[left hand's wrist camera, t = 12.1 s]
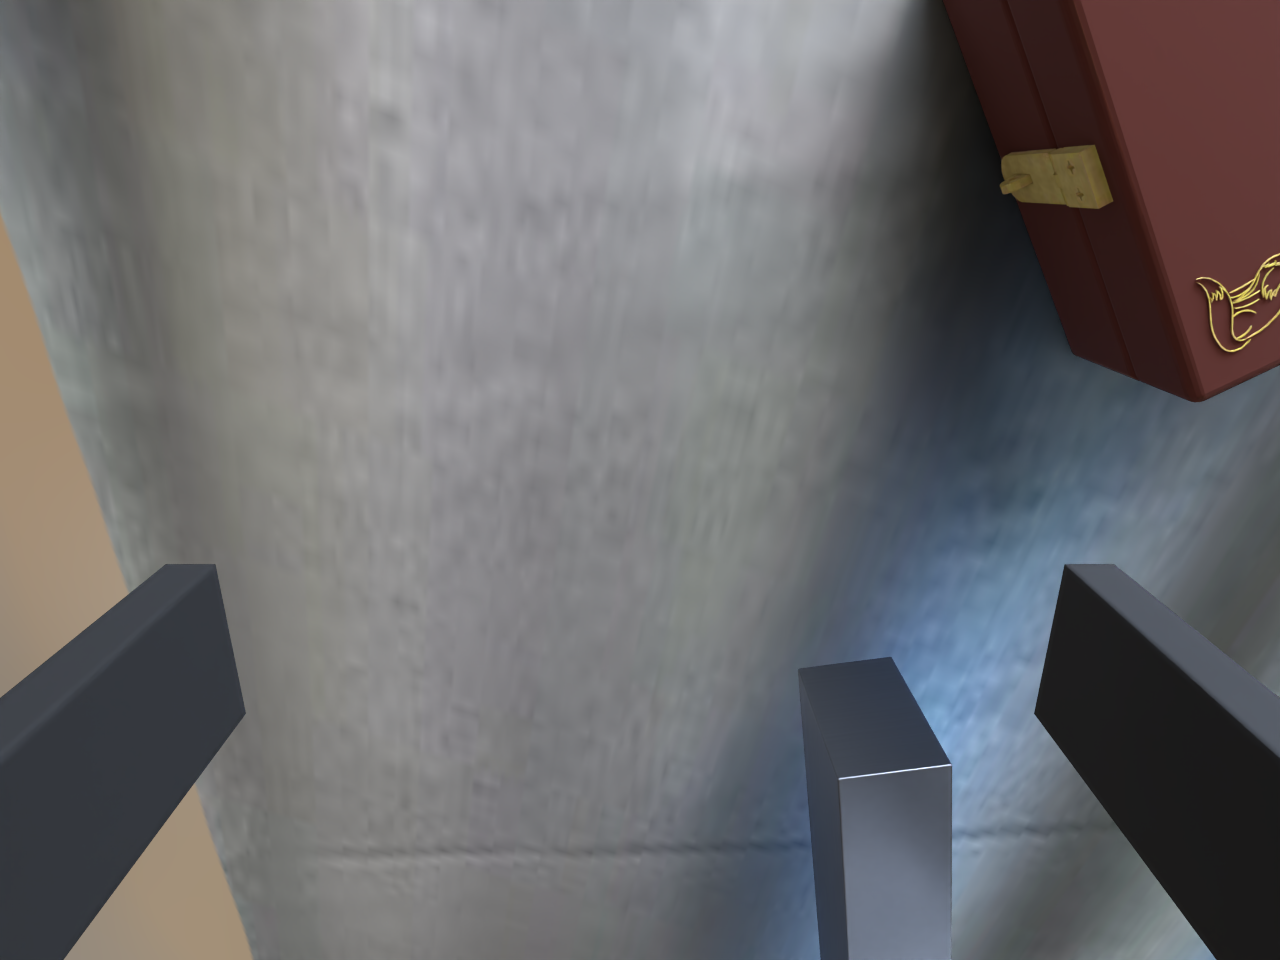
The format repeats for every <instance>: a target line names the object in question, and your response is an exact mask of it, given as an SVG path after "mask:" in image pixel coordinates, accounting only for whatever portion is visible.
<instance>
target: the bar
mask: <svg viewBox="0 0 1280 960" xmlns="http://www.w3.org/2000/svg"><path fill="white" fill-rule="evenodd" d="M798 675H799V688H800V701H801V714H802V727H803V739H804V752H805V765H806V778H807V791H808V803H809V816H810V829H811V842H812V855H813V868H814V880H815V893H816V906H817V919H818V932H819V944H820V957H821V960H951V905H952V764H951V762H950V761H949V759H948V757H947V755H946V754H945V752H944V750H943V748H942V746H941V745H940V743H939V741H938V739H937V738H936V736H935V734H934V732H933V730H932V729H931V727H930V725H929V723H928V721H927V720H926V718H925V716H924V714H923V713H922V711H921V709H920V707H919V705H918V704H917V702H916V700H915V698H914V697H913V695H912V693H911V691H910V689H909V688H908V686H907V684H906V682H905V681H904V679H903V677H902V675H901V673H900V672H899V670H898V668H897V666H896V664H895V663H894V661H893V659H892V657H885V658H877V659H870V660H862V661H854V662H846V663H839V664H831V665H823V666H816V667H808V668H800V669H798Z"/></svg>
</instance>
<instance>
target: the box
mask: <svg viewBox="0 0 1280 960" xmlns="http://www.w3.org/2000/svg"><path fill="white" fill-rule="evenodd" d="M943 3H944V5H945V8H946V11H947V13H948V16H949V19H950V22H951V24H952V27H953V30H954V32H955V35H956V38H957V41H958V43H959V46H960V49H961V51H962V54H963V57H964V60H965V62H966V65H967V68H968V70H969V73H970V76H971V79H972V81H973V84H974V87H975V90H976V92H977V95H978V98H979V100H980V103H981V106H982V109H983V111H984V114H985V117H986V119H987V122H988V125H989V128H990V130H991V133H992V136H993V138H994V141H995V144H996V147H997V149H998V152H999V155H1000V157H1001V160H1002V161H1001V169H1002V174H1003V178H1004V180H1005V181H1003V182H1002V183H1001V184H1000V188H1001V190H1002V193H1003V194H1008V193H1012V195H1013V196H1014V197H1015V198H1016V201H1017V204H1018V206H1019V209H1020V212H1021V214H1022V217H1023V220H1024V223H1025V225H1026V228H1027V231H1028V234H1029V236H1030V239H1031V242H1032V244H1033V247H1034V250H1035V253H1036V255H1037V258H1038V261H1039V263H1040V266H1041V269H1042V272H1043V274H1044V277H1045V280H1046V282H1047V285H1048V288H1049V291H1050V293H1051V296H1052V299H1053V301H1054V304H1055V307H1056V310H1057V312H1058V315H1059V318H1060V320H1061V323H1062V326H1063V329H1064V331H1065V334H1066V337H1067V339H1068V342H1069V345H1070V348H1071V350H1072V353H1073V354H1074V355H1076V356H1078V357H1081V358H1083V359H1086V360H1088V361H1091V362H1093V363H1096V364H1098V365H1101V366H1103V367H1106V368H1108V369H1111V370H1113V371H1116V372H1118V373H1121V374H1123V375H1126V376H1128V377H1131V378H1133V379H1136V380H1138V381H1141V382H1143V383H1146V384H1148V385H1151V386H1153V387H1156V388H1158V389H1161V390H1163V391H1166V392H1168V393H1171V394H1173V395H1176V396H1178V397H1181V398H1183V399H1186V400H1188V401H1191V402H1202V401H1205V400H1207V399H1209V398H1211V397H1213V396H1215V395H1217V394H1220V393H1222V392H1224V391H1226V390H1228V389H1230V388H1232V387H1234V386H1236V385H1239V384H1241V383H1243V382H1245V381H1247V380H1249V379H1251V378H1253V377H1255V376H1258V375H1260V374H1262V373H1264V372H1266V371H1268V370H1270V369H1272V368H1275V367H1277V366H1279V365H1280V0H943Z"/></svg>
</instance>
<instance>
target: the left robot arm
mask: <svg viewBox="0 0 1280 960" xmlns="http://www.w3.org/2000/svg"><path fill="white" fill-rule="evenodd" d="M245 714H246V712H245V707H244V702H243V697H242V692H241V688H240V683H239V678H238V673H237V668H236V663H235V658H234V653H233V648H232V644H231V639H230V634H229V629H228V624H227V619H226V614H225V609H224V604H223V599H222V595H221V590H220V585H219V580H218V575H217V570H216V565H215V564H166V565H164V566H163V567H162V568H161V569H159V570H158V571H157V572H156V573H154V574H153V575H152V576H151V577H150V578H148V579H147V580H146V581H145V582H143V583H142V584H141V585H140V586H138V587H137V588H136V589H135V590H133V591H132V592H131V593H130V594H128V595H127V596H126V597H125V598H123V599H122V600H121V601H120V602H119V603H117V604H116V605H115V606H114V607H112V608H111V609H110V610H109V611H107V612H106V613H105V614H104V615H102V616H101V617H100V618H99V619H97V620H96V621H95V622H94V623H93V624H91V625H90V626H89V627H88V628H86V629H85V630H84V631H83V632H81V633H80V634H79V635H78V636H76V637H75V638H74V639H73V640H71V641H70V642H69V643H68V644H67V645H65V646H64V647H63V648H62V649H60V650H59V651H58V652H57V653H55V654H54V655H53V656H52V657H50V658H49V659H48V660H47V661H45V662H44V663H43V664H42V665H41V666H39V667H38V668H37V669H36V670H34V671H33V672H32V673H31V674H29V675H28V676H27V677H26V678H24V679H23V680H22V681H21V682H19V683H18V684H17V685H16V686H15V687H13V688H12V689H11V690H9V691H8V692H7V693H6V694H5V695H3V696H2V697H1V698H0V960H64V958H65V957H66V956H67V954H68V953H69V951H70V950H71V949H72V947H73V946H74V945H75V943H76V942H77V941H78V939H79V938H80V937H81V935H82V934H83V932H84V931H85V930H86V928H87V927H88V926H89V924H90V923H91V922H92V920H93V919H94V918H95V916H96V915H97V914H98V912H99V911H100V910H101V908H102V907H103V906H104V904H105V903H106V902H107V900H108V899H109V897H110V896H111V895H112V893H113V892H114V891H115V889H116V888H117V887H118V885H119V884H120V883H121V881H122V880H123V879H124V877H125V876H126V875H127V873H128V872H129V871H130V869H131V868H132V866H133V865H134V864H135V862H136V861H137V860H138V858H139V857H140V856H141V854H142V853H143V852H144V850H145V849H146V848H147V846H148V845H149V843H150V842H151V841H152V839H153V838H154V837H155V835H156V834H157V833H158V831H159V830H160V829H161V827H162V826H163V825H164V823H165V822H166V821H167V819H168V818H169V817H170V815H171V814H172V812H173V811H174V810H175V808H176V807H177V806H178V804H179V803H180V802H181V800H182V799H183V798H184V796H185V795H186V794H187V792H188V791H189V790H190V788H191V787H192V785H193V784H194V783H195V781H196V780H197V779H198V777H199V776H200V775H201V773H202V772H203V771H204V769H205V768H206V767H207V765H208V764H209V763H210V761H211V760H212V759H213V757H214V756H215V754H216V753H217V752H218V750H219V749H220V748H221V746H222V745H223V744H224V742H225V741H226V740H227V738H228V737H229V736H230V734H231V733H232V732H233V730H234V729H235V727H236V726H237V725H238V723H239V722H240V721H241V719H242V718H243V717H244V715H245ZM1034 714H1035V715H1036V717H1037V718H1038V719H1039V721H1040V722H1041V723H1042V725H1043V726H1044V727H1045V729H1046V730H1047V732H1048V733H1049V734H1050V736H1051V737H1052V738H1053V740H1054V741H1055V742H1056V744H1057V745H1058V746H1059V748H1060V749H1061V750H1062V752H1063V753H1064V754H1065V756H1066V757H1067V759H1068V760H1069V761H1070V763H1071V764H1072V765H1073V767H1074V768H1075V769H1076V771H1077V772H1078V773H1079V775H1080V776H1081V777H1082V779H1083V780H1084V781H1085V783H1086V784H1087V785H1088V787H1089V788H1090V790H1091V791H1092V792H1093V794H1094V795H1095V796H1096V798H1097V799H1098V800H1099V802H1100V803H1101V804H1102V806H1103V807H1104V808H1105V810H1106V811H1107V812H1108V814H1109V815H1110V817H1111V818H1112V819H1113V821H1114V822H1115V823H1116V825H1117V826H1118V827H1119V829H1120V830H1121V831H1122V833H1123V834H1124V835H1125V837H1126V838H1127V839H1128V841H1129V842H1130V844H1131V845H1132V846H1133V848H1134V849H1135V850H1136V852H1137V853H1138V854H1139V856H1140V857H1141V858H1142V860H1143V861H1144V862H1145V864H1146V865H1147V866H1148V868H1149V869H1150V871H1151V872H1152V873H1153V875H1154V876H1155V877H1156V879H1157V880H1158V881H1159V883H1160V884H1161V885H1162V887H1163V888H1164V889H1165V891H1166V892H1167V893H1168V895H1169V896H1170V897H1171V899H1172V900H1173V902H1174V903H1175V904H1176V906H1177V907H1178V908H1179V910H1180V911H1181V912H1182V914H1183V915H1184V916H1185V918H1186V919H1187V920H1188V922H1189V923H1190V924H1191V926H1192V927H1193V929H1194V930H1195V931H1196V933H1197V934H1198V935H1199V937H1200V938H1201V939H1202V941H1203V942H1204V943H1205V945H1206V946H1207V947H1208V949H1209V950H1210V951H1211V953H1212V954H1213V956H1214V957H1215V958H1216V960H1280V698H1279V697H1278V696H1277V695H1275V694H1274V693H1273V692H1272V691H1271V690H1269V689H1268V688H1267V687H1266V686H1264V685H1263V684H1262V683H1261V682H1259V681H1258V680H1257V679H1256V678H1254V677H1253V676H1252V675H1251V674H1249V673H1248V672H1247V671H1246V670H1244V669H1243V668H1242V667H1241V666H1240V665H1238V664H1237V663H1236V662H1235V661H1233V660H1232V659H1231V658H1230V657H1228V656H1227V655H1226V654H1225V653H1223V652H1222V651H1221V650H1220V649H1218V648H1217V647H1216V646H1215V645H1214V644H1212V643H1211V642H1210V641H1209V640H1207V639H1206V638H1205V637H1204V636H1202V635H1201V634H1200V633H1199V632H1197V631H1196V630H1195V629H1194V628H1192V627H1191V626H1190V625H1189V624H1187V623H1186V622H1185V621H1184V620H1183V619H1181V618H1180V617H1179V616H1178V615H1176V614H1175V613H1174V612H1173V611H1171V610H1170V609H1169V608H1168V607H1166V606H1165V605H1164V604H1163V603H1161V602H1160V601H1159V600H1158V599H1157V598H1155V597H1154V596H1153V595H1152V594H1150V593H1149V592H1148V591H1147V590H1145V589H1144V588H1143V587H1142V586H1140V585H1139V584H1138V583H1137V582H1135V581H1134V580H1133V579H1132V578H1130V577H1129V576H1128V575H1127V574H1126V573H1124V572H1123V571H1122V570H1121V569H1119V568H1118V567H1117V566H1116V565H1114V564H1065V565H1064V570H1063V575H1062V580H1061V585H1060V590H1059V595H1058V599H1057V604H1056V609H1055V614H1054V619H1053V624H1052V629H1051V634H1050V639H1049V644H1048V648H1047V653H1046V658H1045V663H1044V668H1043V673H1042V678H1041V683H1040V688H1039V692H1038V697H1037V702H1036V707H1035V712H1034Z"/></svg>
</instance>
